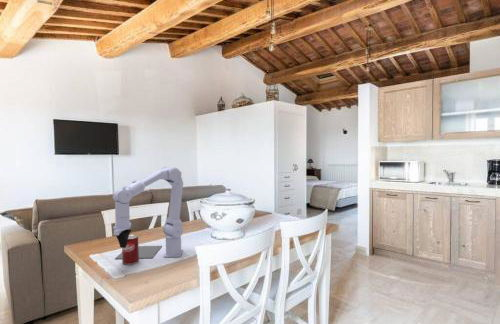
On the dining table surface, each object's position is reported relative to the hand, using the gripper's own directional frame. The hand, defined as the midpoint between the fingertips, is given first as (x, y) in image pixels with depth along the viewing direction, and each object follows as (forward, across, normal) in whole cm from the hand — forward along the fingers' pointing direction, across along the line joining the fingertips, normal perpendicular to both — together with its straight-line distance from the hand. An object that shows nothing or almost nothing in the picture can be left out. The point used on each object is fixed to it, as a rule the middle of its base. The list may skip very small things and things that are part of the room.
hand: (123, 247), depth 129 cm
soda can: (+10, -8, 0) cm, 13 cm away
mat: (+10, -21, 0) cm, 23 cm away
